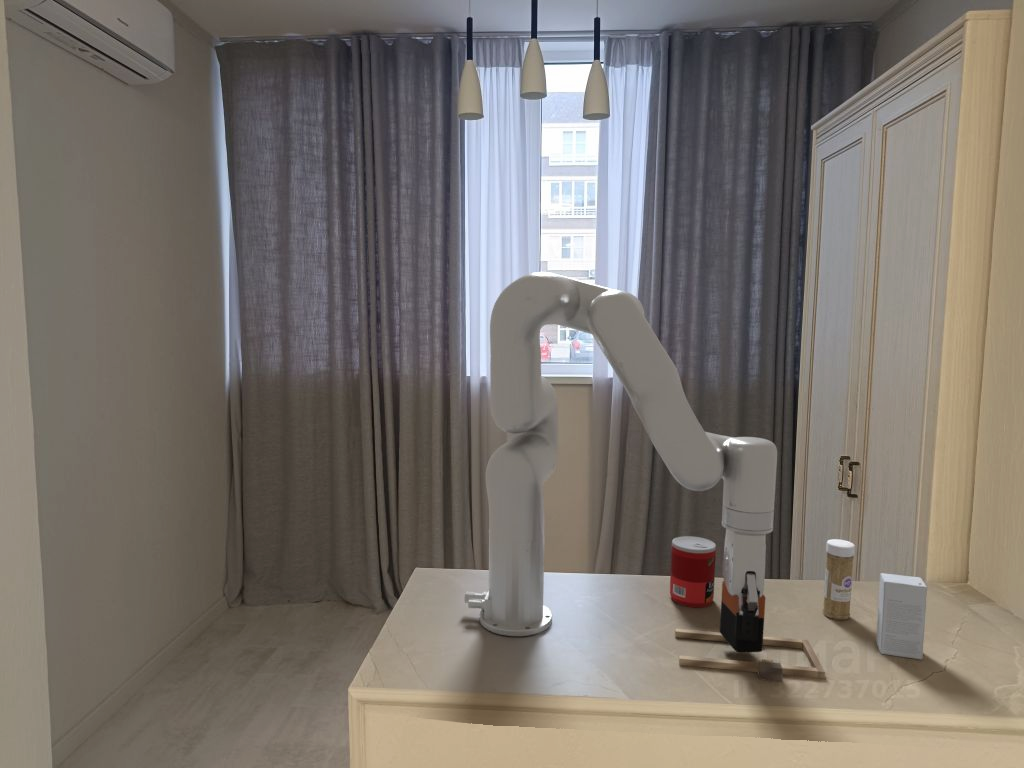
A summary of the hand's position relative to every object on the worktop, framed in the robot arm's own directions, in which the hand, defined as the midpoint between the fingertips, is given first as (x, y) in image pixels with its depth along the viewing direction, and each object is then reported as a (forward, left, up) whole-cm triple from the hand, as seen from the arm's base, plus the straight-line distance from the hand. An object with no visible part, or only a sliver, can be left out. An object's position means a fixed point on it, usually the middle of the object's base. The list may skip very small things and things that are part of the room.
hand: (741, 626), depth 108 cm
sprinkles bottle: (+19, +18, -5) cm, 27 cm away
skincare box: (+25, +6, -5) cm, 26 cm away
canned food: (-6, +20, -5) cm, 21 cm away
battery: (0, 0, -3) cm, 3 cm away
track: (+1, -1, -5) cm, 5 cm away
